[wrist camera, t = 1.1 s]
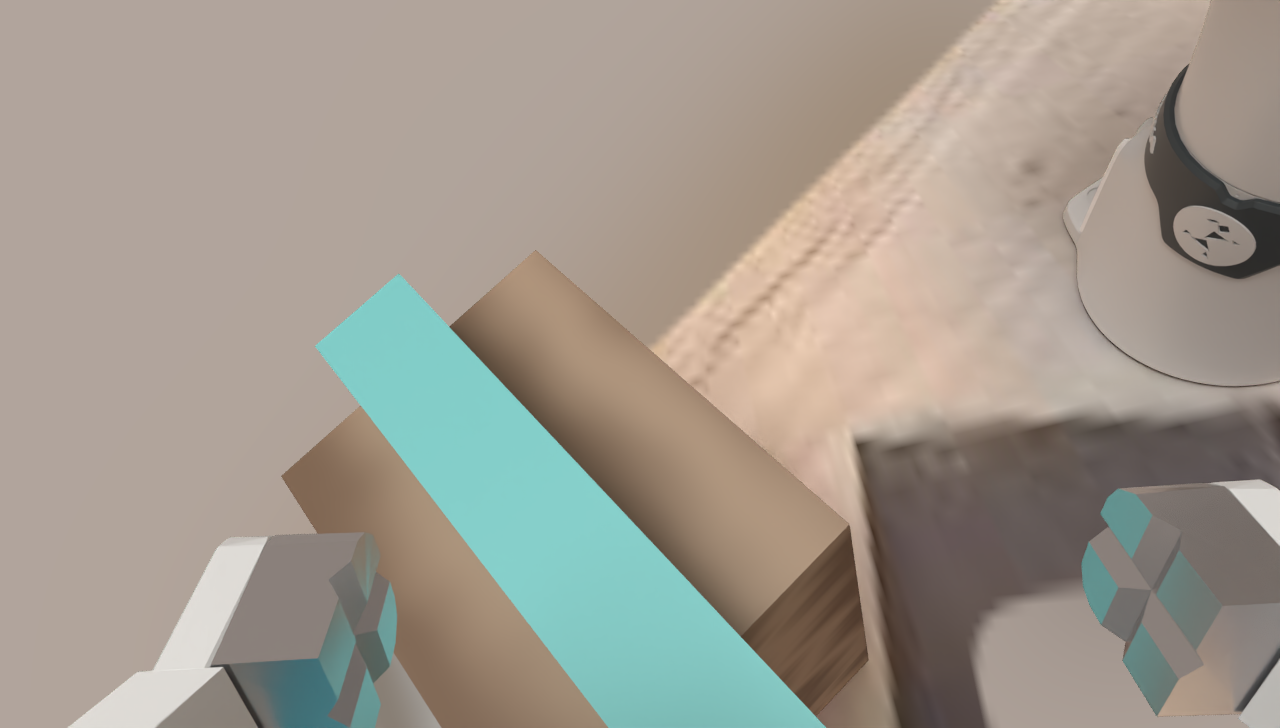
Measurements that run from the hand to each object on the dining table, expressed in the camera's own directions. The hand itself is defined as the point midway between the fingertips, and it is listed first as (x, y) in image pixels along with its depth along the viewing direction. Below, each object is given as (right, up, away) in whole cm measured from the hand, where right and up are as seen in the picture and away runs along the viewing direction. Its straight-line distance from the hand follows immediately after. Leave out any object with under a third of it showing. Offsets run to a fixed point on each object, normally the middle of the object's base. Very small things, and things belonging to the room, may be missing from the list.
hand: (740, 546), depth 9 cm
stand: (-1, -17, +37) cm, 41 cm away
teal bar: (-2, -5, +14) cm, 14 cm away
